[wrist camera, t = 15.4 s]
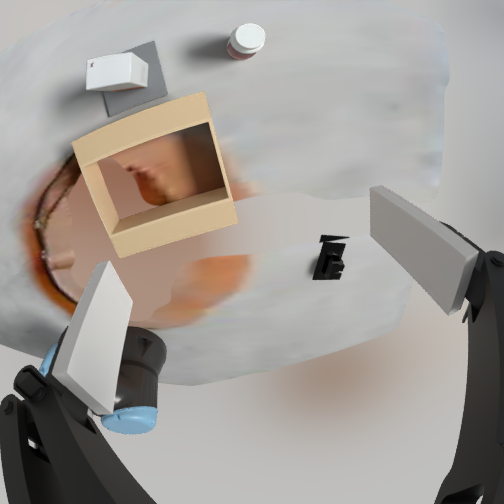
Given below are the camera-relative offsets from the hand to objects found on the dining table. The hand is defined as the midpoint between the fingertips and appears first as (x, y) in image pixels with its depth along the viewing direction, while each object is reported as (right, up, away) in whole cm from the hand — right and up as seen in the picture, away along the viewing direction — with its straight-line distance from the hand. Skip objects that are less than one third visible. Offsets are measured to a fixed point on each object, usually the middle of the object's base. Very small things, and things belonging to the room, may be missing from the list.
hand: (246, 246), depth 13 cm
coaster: (-19, +27, +21) cm, 39 cm away
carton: (-15, +13, +30) cm, 36 cm away
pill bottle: (-1, +32, +22) cm, 39 cm away
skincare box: (-19, +27, +21) cm, 39 cm away
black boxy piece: (+17, -2, +47) cm, 49 cm away
